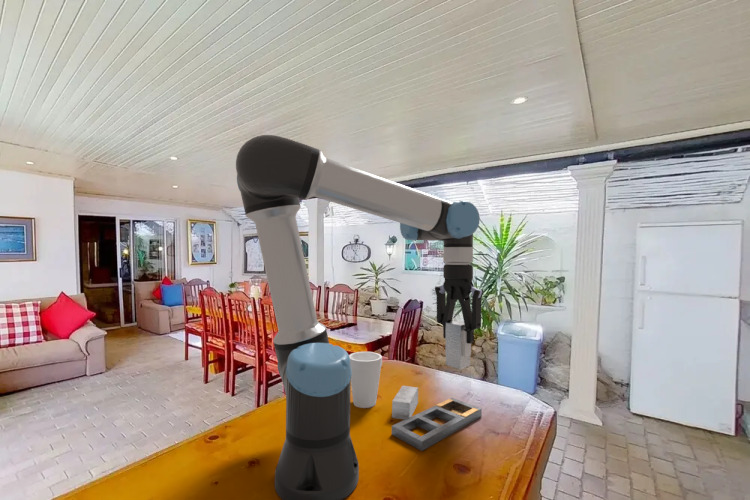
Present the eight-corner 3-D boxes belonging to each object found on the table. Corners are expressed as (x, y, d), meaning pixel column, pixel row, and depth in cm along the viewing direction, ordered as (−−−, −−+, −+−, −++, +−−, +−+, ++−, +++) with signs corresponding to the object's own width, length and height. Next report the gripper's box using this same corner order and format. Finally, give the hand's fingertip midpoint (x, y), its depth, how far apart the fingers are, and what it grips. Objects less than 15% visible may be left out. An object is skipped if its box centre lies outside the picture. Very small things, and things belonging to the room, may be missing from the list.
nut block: (409, 421, 86) (409, 403, 86) (392, 418, 88) (392, 400, 88) (418, 403, 97) (418, 387, 97) (402, 401, 98) (402, 385, 98)
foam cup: (382, 397, 100) (383, 352, 100) (380, 411, 91) (380, 362, 91) (350, 395, 101) (351, 351, 101) (344, 409, 92) (345, 360, 92)
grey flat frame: (422, 451, 73) (422, 440, 73) (391, 434, 79) (391, 425, 79) (481, 416, 89) (481, 407, 89) (452, 405, 95) (452, 397, 95)
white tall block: (460, 369, 86) (460, 325, 86) (445, 365, 90) (445, 322, 90) (470, 365, 89) (470, 323, 89) (455, 361, 93) (455, 320, 93)
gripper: (496, 264, 86) (496, 357, 86) (439, 263, 99) (439, 344, 98) (480, 264, 81) (481, 364, 80) (422, 263, 94) (422, 349, 93)
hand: (458, 353), depth 89 cm, fingers closed on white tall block, 4 cm apart
